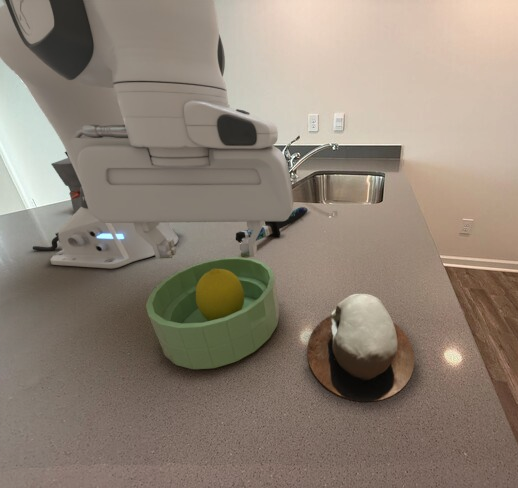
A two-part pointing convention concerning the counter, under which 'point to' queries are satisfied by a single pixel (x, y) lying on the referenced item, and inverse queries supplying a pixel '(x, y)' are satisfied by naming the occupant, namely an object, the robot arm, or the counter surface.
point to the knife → (272, 226)
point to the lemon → (219, 294)
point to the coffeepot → (69, 179)
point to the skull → (360, 351)
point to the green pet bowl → (219, 330)
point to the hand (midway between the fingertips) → (208, 255)
